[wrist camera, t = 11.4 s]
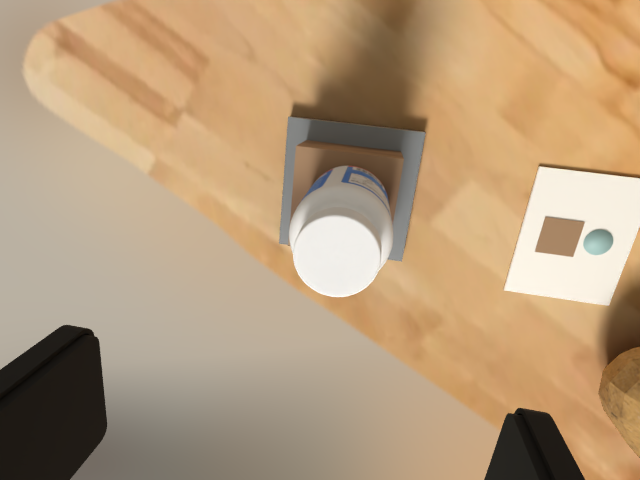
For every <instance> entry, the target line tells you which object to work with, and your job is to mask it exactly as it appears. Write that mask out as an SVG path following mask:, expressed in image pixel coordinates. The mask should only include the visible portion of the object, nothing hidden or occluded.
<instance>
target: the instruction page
mask: <svg viewBox="0 0 640 480" xmlns="http://www.w3.org/2000/svg"><path fill="white" fill-rule="evenodd" d="M639 227H640V178H633V177H625V176H617V175H608V174H600V173H591V172H583V171H575V170H566V169H558V168H550V167H541V166H538V170H537V173H536V177H535V180H534V184H533V187H532V191H531V194H530V198H529V201H528V205H527V208H526V212H525V215H524V219H523V222H522V226H521V229H520V233H519V236H518V240H517V243H516V247H515V250H514V254H513V257H512V261H511V264H510V268H509V271H508V275H507V278H506V282H505V285H504V290H506V291H513V292H520V293H526V294H533V295H540V296H546V297H553V298H560V299H567V300H573V301H580V302H587V303H593V304H600V305H607V306H609V304H610V301H611V299H612V296H613V293H614V291H615V288H616V286H617V283H618V281H619V278H620V276H621V273H622V270H623V268H624V265H625V263H626V260H627V258H628V255H629V253H630V250H631V247H632V245H633V242H634V240H635V237H636V235H637V232H638V230H639Z"/></svg>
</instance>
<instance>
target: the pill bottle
mask: <svg viewBox="0 0 640 480" xmlns="http://www.w3.org/2000/svg"><path fill="white" fill-rule="evenodd" d="M289 240H290V246H291V249H292V252H293V260H294V265H295V268H296V270H297V272H298V274H299V276H300V277H301V279H302V280H303V281H304V282H305V283H306V284H307V285H308V286H309V287H310V288H312V289H313V290H315V291H317V292H319V293H321V294H323V295H327V296H332V297H345V296H349V295H353V294H356V293H358V292H360V291H362V290H363V289H365V288H366V287H367V286H368V285H369V284H370V283H371V282H372V281H373V280H374V278H375V277H376V275H377V273H378V271H379V270H380V269H381V268H382V266H383V265H384V264H385V262H386V261H387V259H388V257H389V254H390V252H391V249H392V244H393V224H392V219H391V213H390V207H389V201H388V196H387V193H386V190H385V188H384V186H383V184H382V183H381V182H380V180H379V179H378V178H377V177H376V176H375V175H373V174H372V173H371V172H369V171H367V170H365V169H363V168H360V167H356V166H339V167H335V168H333V169H330V170H328V171H327V172H325V173H324V174H322V175H321V176H320V177H319V178H318V179H317V180H316V181H315V182H314V184H313V185H312V187H311V188H310V189H309V191H308V192H307V194H306V195H305V196H304V198H303V199H302V201H301V202H300V204H299V205H298V207H297V209H296V210H295V212H294V214H293V217H292V220H291V223H290V229H289Z"/></svg>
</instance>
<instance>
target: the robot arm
mask: <svg viewBox="0 0 640 480" xmlns="http://www.w3.org/2000/svg"><path fill="white" fill-rule="evenodd" d="M105 409H106V408H105V398H104V387H103V377H102V367H101V357H100V346H99V340H98V338H97V337H95V336H94V333H93V332H92V330H90V329H87V328H82V327H76V326H71V325H63V326H61V327H59V328H58V329H57V330H55V331H54V332H52V333H51V334H50V335H48V336H47V337H46V338H44V339H43V340H41V341H40V342H38V343H37V344H36V345H34V346H33V347H31V348H30V349H29V350H27V351H26V352H25V353H23V354H22V355H20V356H19V357H17V358H16V359H15V360H13V361H12V362H10V363H9V364H8V365H6V366H5V367H3V368H2V369H1V370H0V480H70V479H71V477H72V476H73V475H74V474H75V473H76V471H77V470H78V469H79V468H80V466H81V465H82V464H83V463H84V461H85V460H86V459H87V458H88V457H89V455H90V454H91V453H92V452H93V451H94V449H95V448H96V447H97V446H98V444H99V443H100V442H101V440H102V439H103V437H104V435H105V432H106V429H107V418H106V410H105ZM484 480H585V479H584V477H583V475H582V473H581V471H580V469H579V467H578V465H577V464H576V462H575V460H574V458H573V456H572V454H571V452H570V450H569V449H568V447H567V445H566V443H565V441H564V439H563V437H562V435H561V433H560V432H559V430H558V428H557V426H556V424H555V422H554V420H553V418H552V417H551V416H550V414H548V413H545V412H540V411H534V410H529V409H523V408H518V409H517V410H516V411H515V413H514V414H511V413H509V414H507V415H506V418H505V420H504V423H503V426H502V429H501V432H500V435H499V438H498V441H497V444H496V447H495V450H494V453H493V456H492V459H491V462H490V465H489V468H488V471H487V474H486V477H485V479H484Z"/></svg>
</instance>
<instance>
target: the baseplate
mask: <svg viewBox="0 0 640 480" xmlns="http://www.w3.org/2000/svg"><path fill="white" fill-rule="evenodd" d="M425 134H426V132H424V131H416V130H407V129H398V128H389V127H381V126H372V125H363V124H355V123H346V122H337V121H328V120H320V119H311V118H302V117H293V116H290V117H288V127H287V141H286V155H285V169H284V183H283V197H282V211H281V225H280V239H279V244H286V245H288V240H289V228H290V215H291V203H292V190H293V177H294V165H295V152H296V146H297V145H298V144H300V143H302V142H304V141H306V140H311V141H319V142H327V143H336V144H344V145H352V146H361V147H369V148H378V149H386V150H394V151H401V153H402V155H403V158H404V162H403V168H402V174H401V179H400V185H399V191H398V197H397V203H396V209H395V214H394V220H393V244H392V249H391V252H390V254H389V257H388V259H389V260H395V261H402V258H403V252H404V247H405V242H406V236H407V231H408V225H409V220H410V215H411V209H412V204H413V198H414V193H415V188H416V182H417V177H418V171H419V166H420V161H421V155H422V150H423V144H424V139H425Z"/></svg>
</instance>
